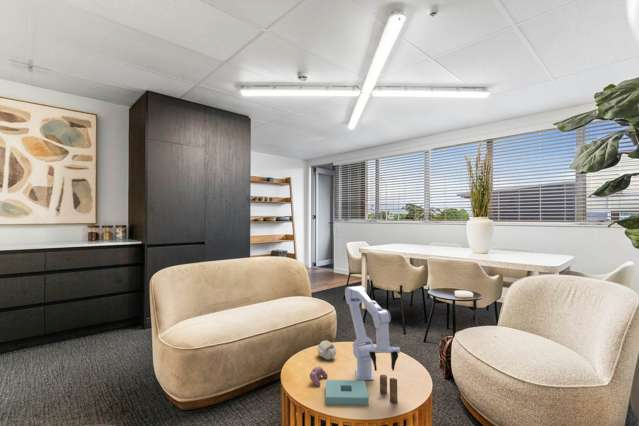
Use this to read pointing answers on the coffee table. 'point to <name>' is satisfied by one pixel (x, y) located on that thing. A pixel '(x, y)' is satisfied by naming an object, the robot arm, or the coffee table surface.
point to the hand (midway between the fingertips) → (384, 369)
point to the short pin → (383, 384)
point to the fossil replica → (326, 350)
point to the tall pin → (393, 390)
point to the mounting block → (346, 392)
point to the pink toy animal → (317, 372)
